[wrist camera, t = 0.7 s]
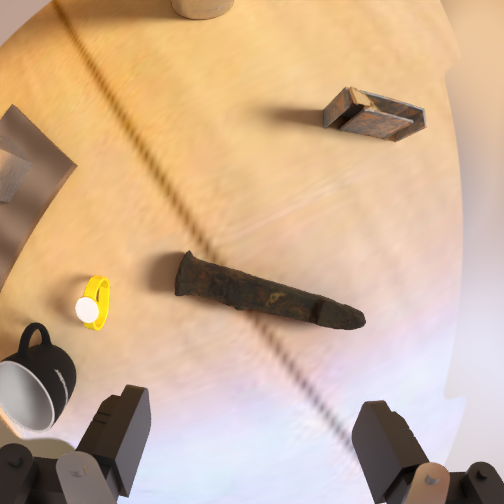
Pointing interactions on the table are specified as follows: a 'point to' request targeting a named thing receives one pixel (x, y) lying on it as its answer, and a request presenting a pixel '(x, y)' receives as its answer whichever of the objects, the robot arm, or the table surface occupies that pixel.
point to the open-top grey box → (11, 168)
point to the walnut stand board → (28, 186)
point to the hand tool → (262, 295)
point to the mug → (36, 382)
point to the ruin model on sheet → (375, 115)
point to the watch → (94, 303)
